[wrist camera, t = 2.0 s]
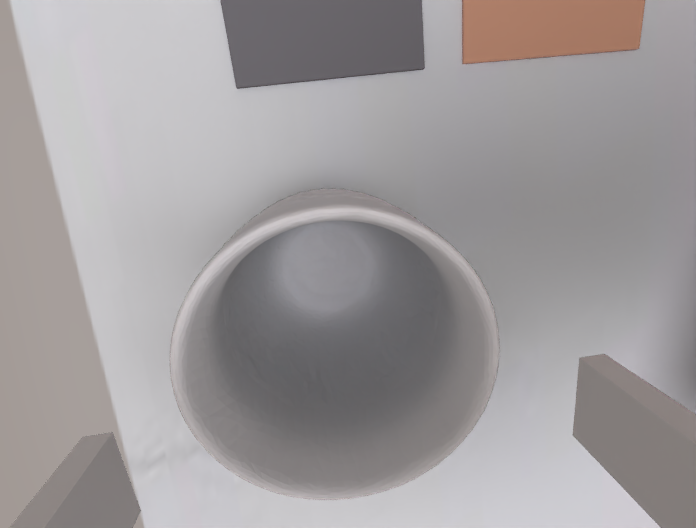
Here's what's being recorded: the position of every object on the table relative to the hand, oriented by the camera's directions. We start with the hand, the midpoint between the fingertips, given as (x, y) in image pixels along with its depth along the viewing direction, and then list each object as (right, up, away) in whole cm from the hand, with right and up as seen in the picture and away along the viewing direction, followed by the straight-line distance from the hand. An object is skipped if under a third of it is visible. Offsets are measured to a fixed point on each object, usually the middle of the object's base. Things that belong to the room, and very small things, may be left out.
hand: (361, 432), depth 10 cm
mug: (-1, +4, +15) cm, 15 cm away
